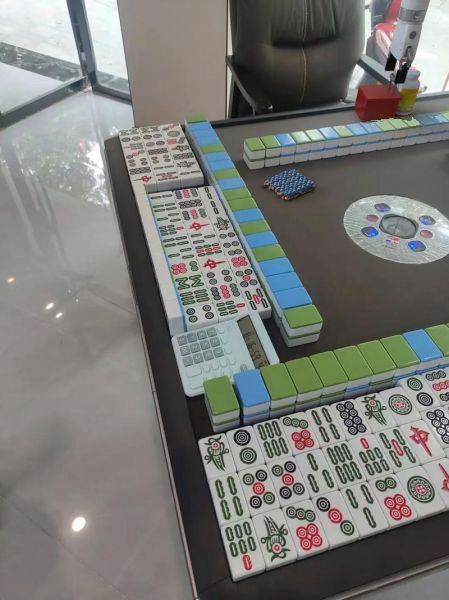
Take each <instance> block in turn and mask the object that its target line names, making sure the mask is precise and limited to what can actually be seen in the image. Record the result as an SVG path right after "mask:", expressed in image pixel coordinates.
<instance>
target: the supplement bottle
mask: <svg viewBox="0 0 449 600" xmlns="http://www.w3.org/2000/svg"><path fill="white" fill-rule="evenodd" d="M421 73H422V72H421V71H420V70H418V69H415V68H410V69H409V71H408V73H407V76H406V79H405V83H404V84H397V87H396V90H397V91H398V93H399V94H400V95H401V97H402V100H399V103H398V106H397V110H396V113H395V115H397V116H408V114H409V115H410V114H412V112H413V110H414V105H415V102H416V99H417V97H418V93H419V90H420V87H421V82H420V80H419V78H420V76H421Z"/></svg>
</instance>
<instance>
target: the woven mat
mask: <svg viewBox="0 0 449 600" xmlns="http://www.w3.org/2000/svg"><path fill="white" fill-rule="evenodd" d="M316 185H317V184H316V183H315V182H314V181H313V180H310V178H309V177H308V178H307V177H306V176H305V175H303V174H302V173H300V172H299V171H298V170H296V169H294V168H288V169H286V170H283V171H281V172H279V173H277V174H276V173H275V174H274V175H270V176H269V177H265V179H264V182H263V186H268V190H273V191H274V192H275V193H276V194H277V195H278V196H281V199H282V200H285V201H290V200H292V199H295V198H296V197H298V196H299V195H300V196H301V195H304V194H306V193H308V192H311V191H312V190H314V189H316Z"/></svg>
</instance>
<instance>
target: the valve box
mask: <svg viewBox="0 0 449 600" xmlns="http://www.w3.org/2000/svg"><path fill="white" fill-rule="evenodd" d="M398 103H399V100H395V101H366V99H365V97H364V96H363V94H362V93H361V91H360V89H359V87H358V88H357V93H356V98H355V102H354V106H355V108H354V107H353V109H354V110H355V112H356V114H357V116H358V117H359V119H360V121H361V122H362V123H367V122H366V121H371V120H381V119H389V118H394V119H395V116H396V114H395V113H396V110H397V106H398Z"/></svg>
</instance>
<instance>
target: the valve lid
mask: <svg viewBox="0 0 449 600" xmlns="http://www.w3.org/2000/svg"><path fill="white" fill-rule="evenodd" d="M395 76H396V73H394V72H391V73H390V74H389V83H388V84H362V85H360V84H359V85H358V88H359V89H360V91H361V93H362V94H363V96H364V97H365V99H366V101H395V100H402V97H401V95H400V94H399V93H398V91H397V88H398V84H395V83H394V80H395Z"/></svg>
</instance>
